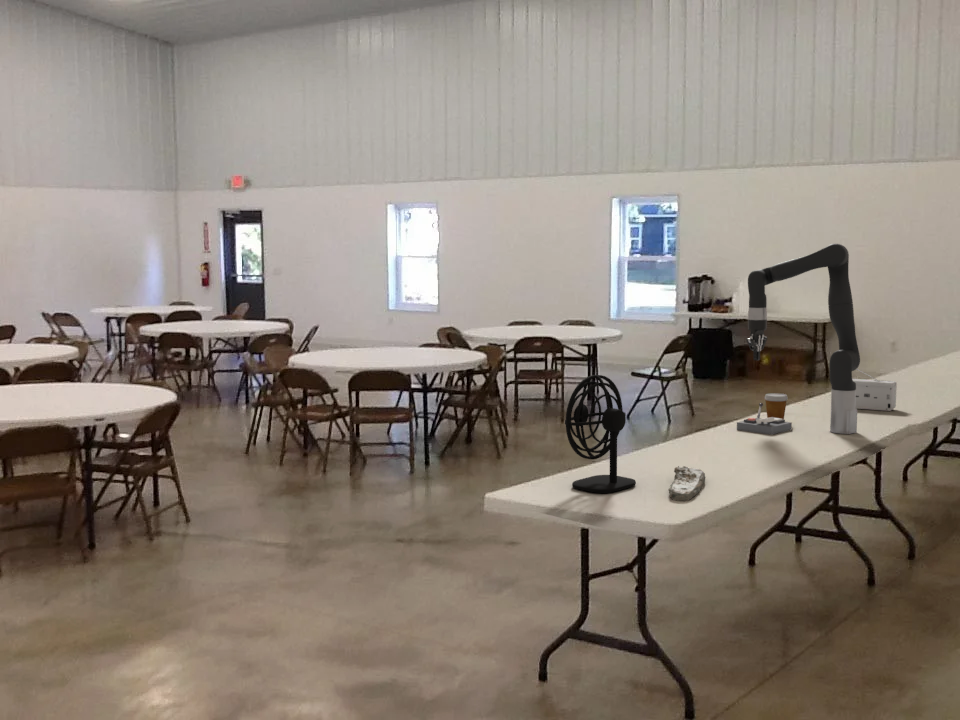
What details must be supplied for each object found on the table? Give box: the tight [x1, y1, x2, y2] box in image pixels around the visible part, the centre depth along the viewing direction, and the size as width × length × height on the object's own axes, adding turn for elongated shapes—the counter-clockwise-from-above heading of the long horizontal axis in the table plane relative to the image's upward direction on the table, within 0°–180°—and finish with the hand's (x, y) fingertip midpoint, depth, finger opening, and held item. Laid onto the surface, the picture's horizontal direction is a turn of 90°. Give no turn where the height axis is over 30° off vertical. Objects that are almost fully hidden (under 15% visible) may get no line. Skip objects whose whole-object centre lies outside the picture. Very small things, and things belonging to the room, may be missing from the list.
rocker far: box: [756, 417, 775, 424], centre depth 410 cm, size 6×4×2 cm, turn 43°
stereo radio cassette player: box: [852, 368, 898, 412], centre depth 463 cm, size 21×8×20 cm, turn 58°
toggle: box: [756, 402, 764, 419], centre depth 423 cm, size 2×2×7 cm
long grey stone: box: [668, 465, 706, 502], centre depth 318 cm, size 35×5×10 cm
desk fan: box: [564, 374, 637, 494], centre depth 319 cm, size 27×18×35 cm, turn 134°
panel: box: [736, 417, 793, 435], centre depth 415 cm, size 16×15×4 cm
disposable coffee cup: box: [764, 392, 789, 420], centre depth 430 cm, size 10×10×12 cm
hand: (756, 360), depth 423 cm, fingers closed
